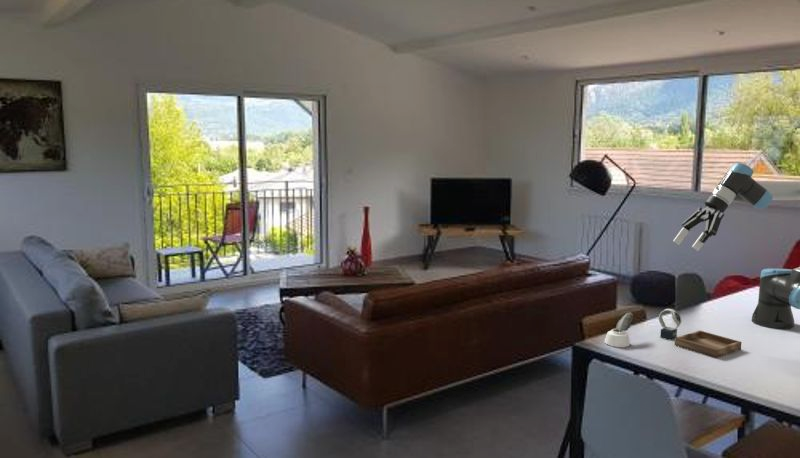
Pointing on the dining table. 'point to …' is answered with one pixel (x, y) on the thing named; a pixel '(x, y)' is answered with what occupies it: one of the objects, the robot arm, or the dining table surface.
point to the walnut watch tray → (708, 344)
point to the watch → (667, 331)
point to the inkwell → (620, 332)
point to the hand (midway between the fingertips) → (685, 245)
